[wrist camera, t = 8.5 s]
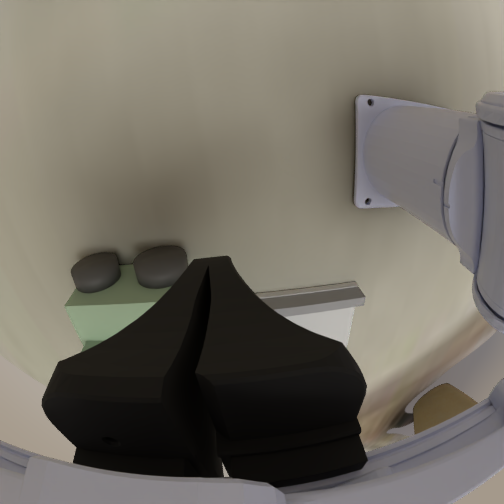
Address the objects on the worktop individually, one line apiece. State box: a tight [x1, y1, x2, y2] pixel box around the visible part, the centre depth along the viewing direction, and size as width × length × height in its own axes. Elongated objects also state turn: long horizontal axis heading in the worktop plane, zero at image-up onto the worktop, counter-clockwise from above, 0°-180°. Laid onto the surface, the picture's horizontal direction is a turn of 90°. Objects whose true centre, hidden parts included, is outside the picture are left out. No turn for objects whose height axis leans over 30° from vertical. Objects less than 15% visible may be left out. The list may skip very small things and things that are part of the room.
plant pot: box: [413, 383, 478, 434], centre depth 29 cm, size 15×15×16 cm
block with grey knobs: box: [64, 246, 365, 352], centre depth 22 cm, size 21×20×6 cm
